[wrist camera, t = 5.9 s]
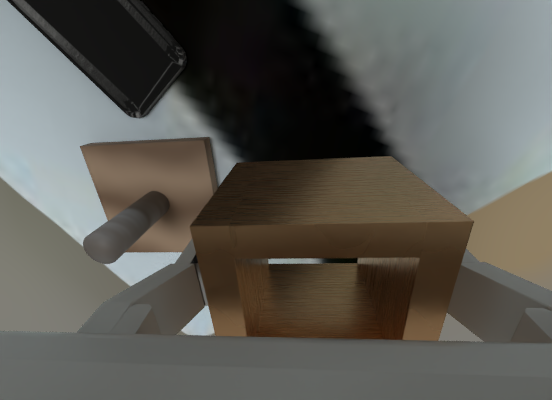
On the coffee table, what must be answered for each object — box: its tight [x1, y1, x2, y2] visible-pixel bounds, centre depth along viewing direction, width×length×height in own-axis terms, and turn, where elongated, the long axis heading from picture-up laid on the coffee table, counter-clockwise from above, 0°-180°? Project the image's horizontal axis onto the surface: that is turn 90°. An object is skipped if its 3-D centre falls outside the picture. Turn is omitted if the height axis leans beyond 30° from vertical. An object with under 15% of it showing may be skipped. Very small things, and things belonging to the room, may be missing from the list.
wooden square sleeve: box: [190, 156, 474, 341], centre depth 9 cm, size 6×6×5 cm
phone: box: [7, 0, 187, 118], centre depth 21 cm, size 8×1×15 cm
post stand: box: [80, 137, 218, 264], centre depth 23 cm, size 12×12×10 cm
